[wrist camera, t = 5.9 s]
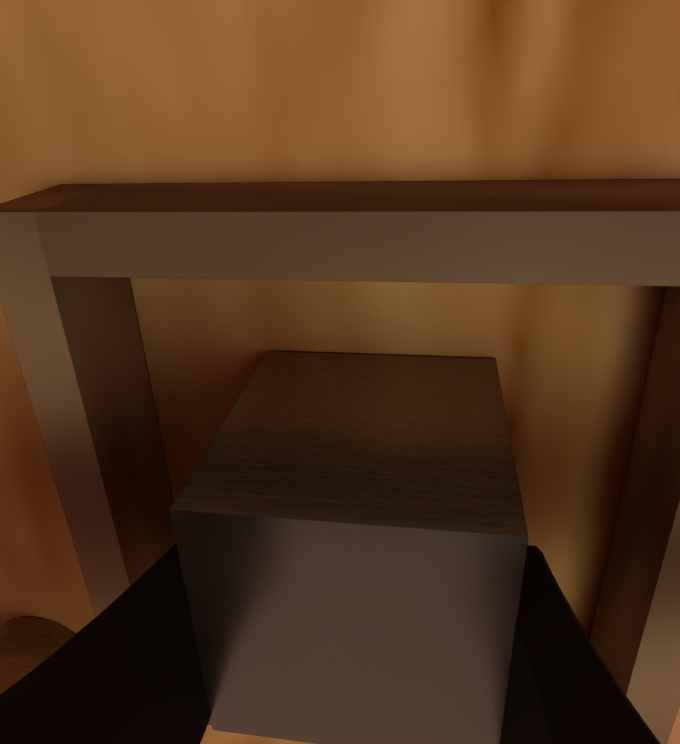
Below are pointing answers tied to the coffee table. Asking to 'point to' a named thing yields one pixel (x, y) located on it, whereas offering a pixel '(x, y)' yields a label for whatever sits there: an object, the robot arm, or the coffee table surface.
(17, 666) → the cylinder
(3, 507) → the coffee table surface
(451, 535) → the grey cube
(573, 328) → the coffee table surface
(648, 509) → the square frame
